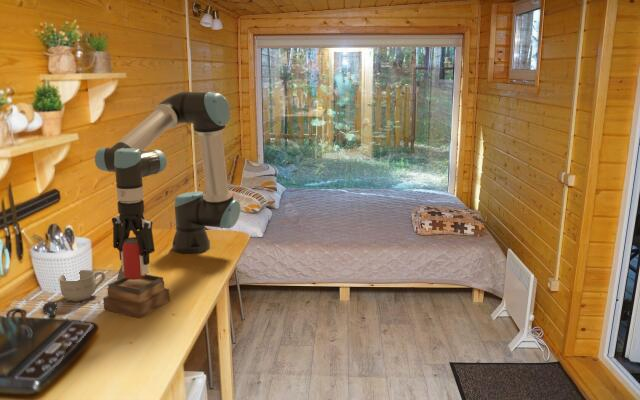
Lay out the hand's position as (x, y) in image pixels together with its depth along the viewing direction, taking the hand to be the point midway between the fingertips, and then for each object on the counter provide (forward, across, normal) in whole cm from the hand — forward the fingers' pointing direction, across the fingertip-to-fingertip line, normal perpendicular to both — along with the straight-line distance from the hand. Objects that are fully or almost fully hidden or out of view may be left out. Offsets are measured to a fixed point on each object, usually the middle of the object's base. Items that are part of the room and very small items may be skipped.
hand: (135, 271), depth 173 cm
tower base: (+11, 0, 0) cm, 11 cm away
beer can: (+2, 0, 0) cm, 2 cm away
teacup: (+11, -20, -2) cm, 23 cm away
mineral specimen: (+11, -16, +15) cm, 25 cm away
